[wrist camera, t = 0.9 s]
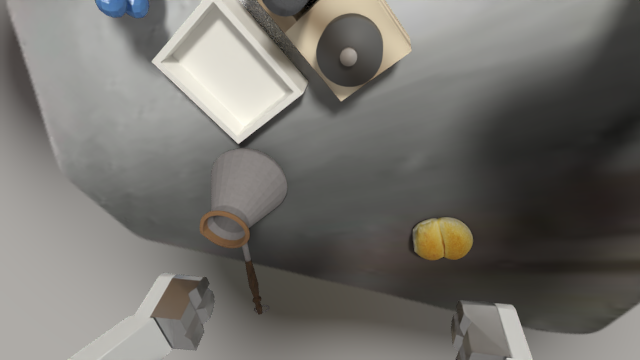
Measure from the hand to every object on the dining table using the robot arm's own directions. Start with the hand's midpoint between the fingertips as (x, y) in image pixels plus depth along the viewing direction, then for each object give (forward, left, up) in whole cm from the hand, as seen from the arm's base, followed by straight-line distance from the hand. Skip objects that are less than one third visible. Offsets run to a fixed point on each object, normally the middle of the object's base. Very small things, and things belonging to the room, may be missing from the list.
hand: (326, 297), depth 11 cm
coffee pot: (+28, +11, -35) cm, 46 cm away
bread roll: (+10, +33, -35) cm, 49 cm away
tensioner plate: (+2, -4, -35) cm, 35 cm away
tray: (+16, -6, -35) cm, 39 cm away
